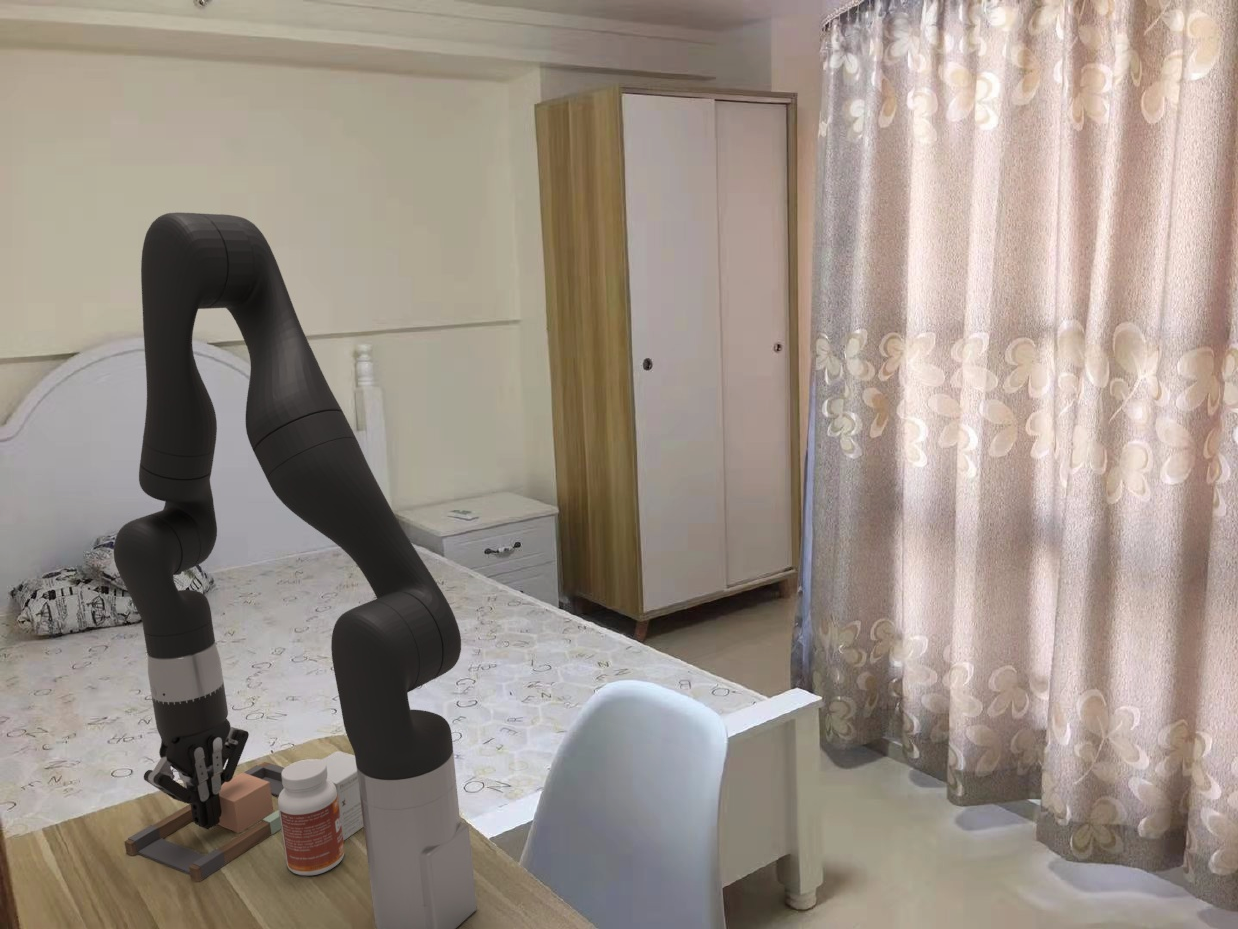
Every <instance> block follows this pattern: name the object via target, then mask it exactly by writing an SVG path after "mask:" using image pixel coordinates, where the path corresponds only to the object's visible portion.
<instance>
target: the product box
mask: <svg viewBox="0 0 1238 929" xmlns="http://www.w3.org/2000/svg"><path fill="white" fill-rule="evenodd" d="M320 760H322V761H324V762H325V764H326V767H327V773H328V775H327V779H328V780H330V781H332V782H333V784H334V785H335V787H336V790H337V796H338V804H339V811H340V819H341V826H342V834H343V841H345V840H347V839H348V838H350V836H352V835H354V834H355V833H357V832H358V831H359V830H361V829H363V828H364V826H363V817H362V809H361V801H360V791H359V783H358V775H357V767H356V760H355V754H351V753H347V752H344V751H339V750H335V751H334V752H332V753H331V754H329V755H328V756H326V757H323V758H321V759H320Z"/></svg>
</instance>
